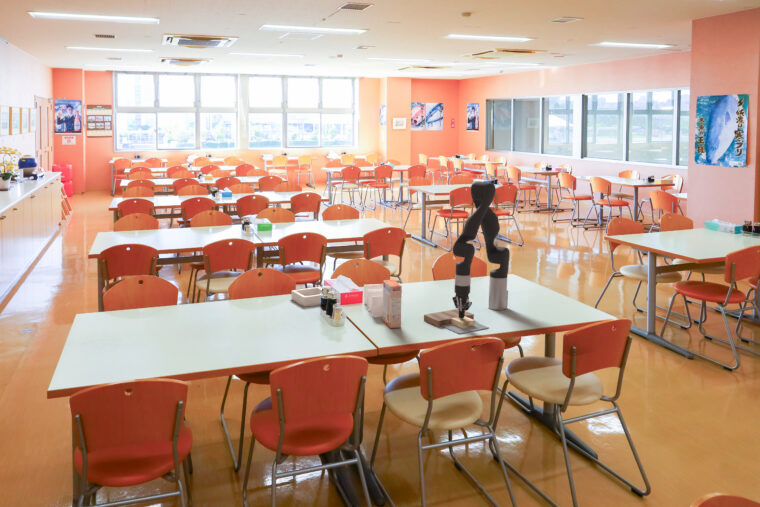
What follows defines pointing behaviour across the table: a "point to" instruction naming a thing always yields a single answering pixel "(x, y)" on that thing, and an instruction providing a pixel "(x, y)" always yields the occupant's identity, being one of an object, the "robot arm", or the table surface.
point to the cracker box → (392, 303)
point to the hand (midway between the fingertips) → (461, 318)
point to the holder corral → (307, 296)
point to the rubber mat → (465, 330)
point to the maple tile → (463, 322)
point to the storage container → (374, 299)
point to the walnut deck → (444, 317)
